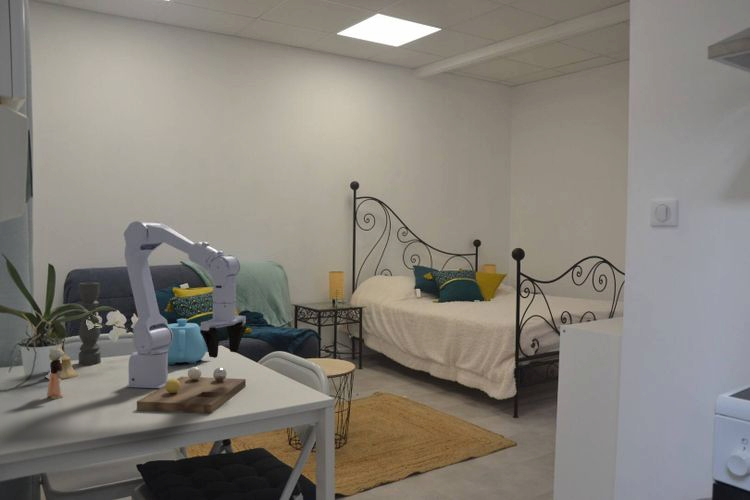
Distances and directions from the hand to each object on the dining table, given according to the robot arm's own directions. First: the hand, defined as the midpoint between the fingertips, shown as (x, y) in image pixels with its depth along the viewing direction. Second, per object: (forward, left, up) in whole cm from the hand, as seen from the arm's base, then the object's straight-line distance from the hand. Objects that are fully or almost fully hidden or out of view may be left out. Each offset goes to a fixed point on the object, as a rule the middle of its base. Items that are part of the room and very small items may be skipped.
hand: (223, 354), depth 155 cm
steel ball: (-2, +3, -6) cm, 7 cm away
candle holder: (-53, +26, -10) cm, 60 cm away
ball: (-9, -10, -6) cm, 15 cm away
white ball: (-9, +3, -6) cm, 11 cm away
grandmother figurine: (-39, -11, -10) cm, 42 cm away
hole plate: (-5, -6, -10) cm, 13 cm away
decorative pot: (-26, +33, -10) cm, 43 cm away
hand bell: (-51, +9, -10) cm, 53 cm away
